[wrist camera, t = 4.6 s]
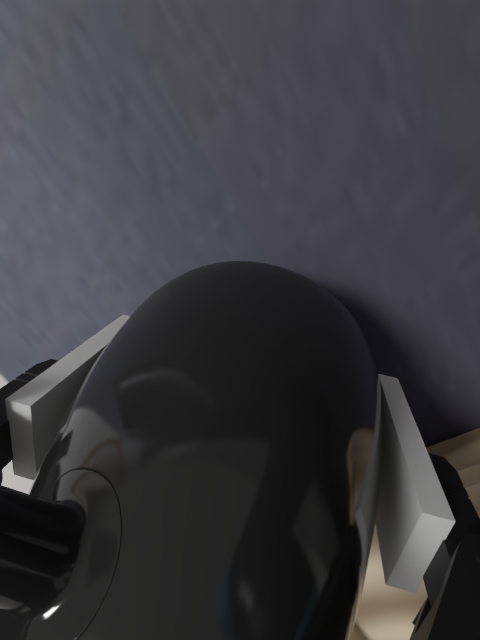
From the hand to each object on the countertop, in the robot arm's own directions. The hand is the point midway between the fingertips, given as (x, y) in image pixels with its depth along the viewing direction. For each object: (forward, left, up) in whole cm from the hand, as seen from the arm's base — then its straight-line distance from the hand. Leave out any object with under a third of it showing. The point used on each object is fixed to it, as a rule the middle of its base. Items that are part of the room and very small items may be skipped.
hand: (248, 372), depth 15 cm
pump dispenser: (0, 0, -3) cm, 3 cm away
